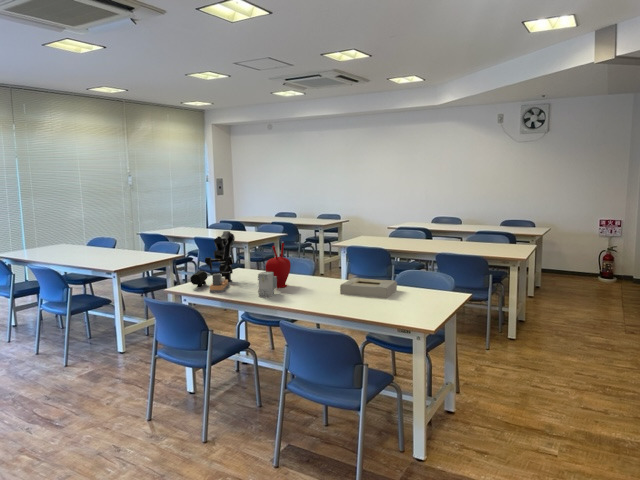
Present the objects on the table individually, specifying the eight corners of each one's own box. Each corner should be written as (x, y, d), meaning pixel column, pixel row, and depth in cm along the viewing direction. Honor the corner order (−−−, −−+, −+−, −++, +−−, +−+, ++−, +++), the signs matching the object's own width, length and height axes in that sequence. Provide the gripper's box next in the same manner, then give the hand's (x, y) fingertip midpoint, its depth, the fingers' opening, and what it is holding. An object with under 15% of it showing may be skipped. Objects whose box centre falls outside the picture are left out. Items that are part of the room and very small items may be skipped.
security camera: (209, 283, 342) (208, 270, 340) (200, 289, 323) (199, 275, 322) (200, 283, 342) (199, 270, 341) (190, 289, 324) (189, 275, 323)
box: (339, 295, 303) (387, 299, 290) (339, 283, 302) (387, 286, 289) (351, 288, 324) (396, 291, 311) (351, 277, 323) (396, 279, 310)
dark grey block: (214, 287, 320) (214, 273, 319) (222, 287, 320) (221, 273, 319) (213, 289, 315) (212, 275, 314) (220, 289, 315) (219, 275, 314)
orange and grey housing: (216, 285, 334) (216, 276, 333) (228, 285, 334) (228, 275, 333) (209, 292, 313) (209, 282, 312) (222, 292, 313) (222, 282, 312)
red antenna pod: (277, 282, 340) (276, 242, 336) (293, 283, 336) (292, 242, 332) (264, 289, 321) (263, 246, 317) (281, 290, 316) (280, 246, 313)
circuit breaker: (278, 292, 311) (277, 270, 309) (268, 297, 297) (268, 274, 295) (267, 291, 313) (267, 269, 311) (258, 296, 300) (257, 273, 298)
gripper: (204, 245, 322) (201, 264, 312) (231, 245, 322) (229, 263, 312) (208, 255, 330) (204, 273, 321) (234, 254, 330) (231, 273, 321)
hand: (217, 270), depth 318 cm, fingers open, 9 cm apart
